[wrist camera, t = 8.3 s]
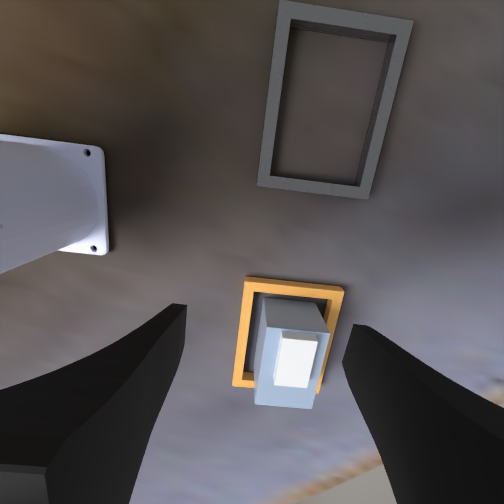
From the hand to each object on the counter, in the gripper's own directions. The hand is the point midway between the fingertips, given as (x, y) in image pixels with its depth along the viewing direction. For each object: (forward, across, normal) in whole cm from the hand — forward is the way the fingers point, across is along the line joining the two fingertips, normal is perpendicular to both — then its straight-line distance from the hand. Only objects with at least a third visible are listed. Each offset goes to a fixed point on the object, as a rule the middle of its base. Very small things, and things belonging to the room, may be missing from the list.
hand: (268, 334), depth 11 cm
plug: (+10, -3, +7) cm, 13 cm away
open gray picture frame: (+10, -3, -11) cm, 15 cm away
